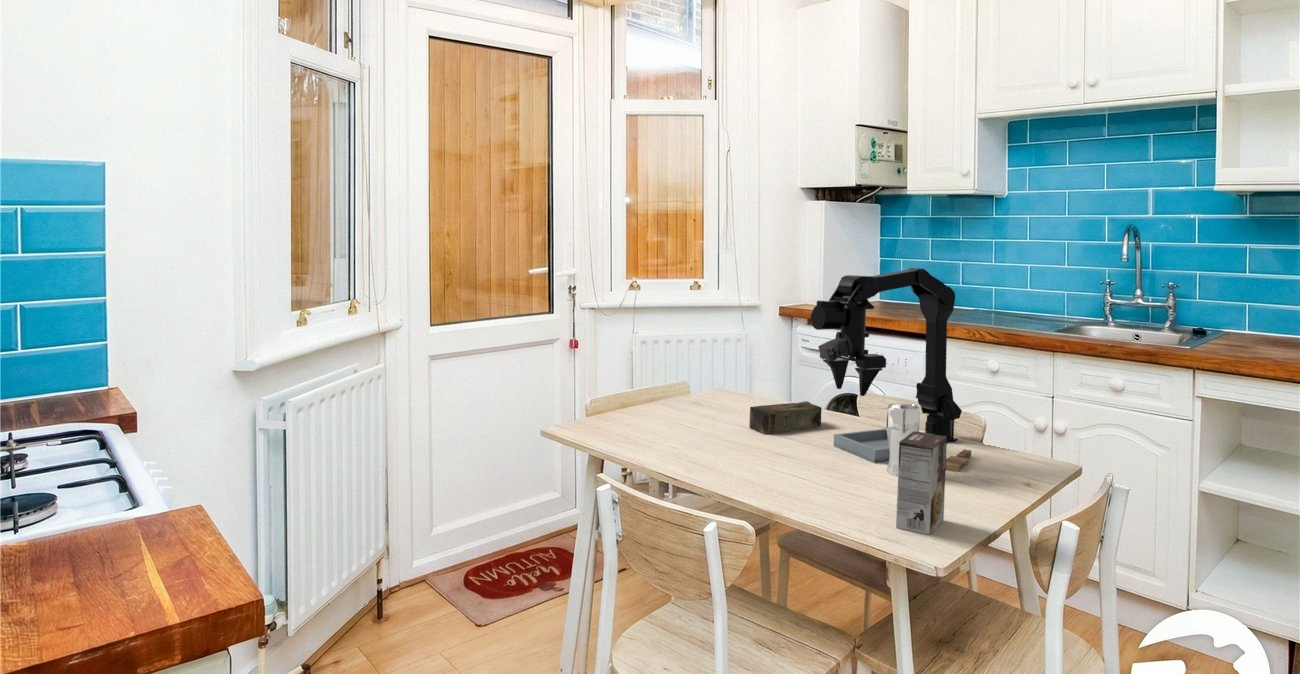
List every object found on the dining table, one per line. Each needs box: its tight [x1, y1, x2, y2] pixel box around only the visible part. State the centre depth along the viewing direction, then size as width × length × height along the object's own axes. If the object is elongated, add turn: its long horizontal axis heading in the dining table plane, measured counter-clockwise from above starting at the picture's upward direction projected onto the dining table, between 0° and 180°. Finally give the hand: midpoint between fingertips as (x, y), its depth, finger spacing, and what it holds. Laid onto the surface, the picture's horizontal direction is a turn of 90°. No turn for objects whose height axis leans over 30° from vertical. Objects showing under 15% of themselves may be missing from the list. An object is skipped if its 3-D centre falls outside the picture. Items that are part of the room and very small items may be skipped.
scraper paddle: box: [946, 448, 972, 473], centre depth 183 cm, size 14×4×2 cm, turn 142°
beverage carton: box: [748, 400, 823, 435], centre depth 216 cm, size 8×19×7 cm, turn 115°
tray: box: [833, 428, 889, 464], centre depth 193 cm, size 16×16×3 cm
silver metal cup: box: [885, 402, 921, 476], centre depth 175 cm, size 7×7×15 cm
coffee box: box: [895, 431, 948, 536], centre depth 144 cm, size 9×6×16 cm
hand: (850, 392), depth 191 cm, fingers open, 9 cm apart
